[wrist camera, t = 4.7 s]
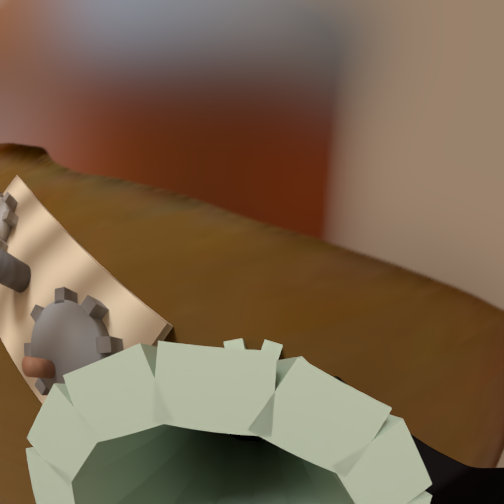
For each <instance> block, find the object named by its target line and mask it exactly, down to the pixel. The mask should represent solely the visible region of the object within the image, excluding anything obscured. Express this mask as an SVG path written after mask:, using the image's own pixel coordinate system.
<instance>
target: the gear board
mask: <svg viewBox="0 0 504 504" xmlns="http://www.w3.org/2000/svg"><path fill="white" fill-rule="evenodd" d="M172 328H173V326H172V325H171V324H170V323H168V322H167V321H166V320H164V319H163V318H162V317H161V316H159V315H158V314H157V313H156V312H154V311H153V310H152V309H151V308H149V307H148V306H147V305H146V304H145V303H143V302H142V301H141V300H140V299H139V298H137V297H136V296H135V295H134V294H133V293H132V292H130V291H129V290H128V289H127V288H126V287H125V286H124V285H122V284H121V283H120V282H119V281H118V280H117V279H116V278H115V277H113V276H112V275H111V274H110V273H109V272H108V271H107V270H106V269H105V268H104V267H103V266H101V265H100V264H99V263H98V262H97V261H96V260H95V259H94V258H93V257H92V256H91V255H90V254H89V253H88V252H87V251H86V250H85V249H84V248H83V247H82V246H81V245H80V244H79V243H78V242H77V241H76V240H75V239H74V238H73V237H72V236H71V235H70V234H69V233H68V232H67V231H66V230H65V229H64V228H63V227H62V226H61V225H60V223H59V222H58V221H57V220H56V219H55V218H54V217H53V216H52V215H51V214H50V212H49V211H48V210H47V209H46V208H45V207H44V206H43V205H42V203H41V202H40V201H39V200H38V199H37V198H36V196H35V195H34V194H33V193H32V192H31V190H30V189H29V188H28V187H27V186H26V184H25V183H24V182H23V181H22V180H21V179H20V178H19V177H18V176H16V177H15V178H14V180H13V181H12V182H11V184H10V185H9V186H8V188H7V189H6V190H5V192H4V193H3V194H2V193H1V192H0V338H1V340H2V342H3V343H4V345H5V347H6V349H7V351H8V352H9V354H10V356H11V358H12V359H13V361H14V363H15V364H16V366H17V368H18V369H19V371H20V372H21V374H22V376H23V377H24V379H25V380H26V382H27V383H28V385H29V386H30V388H31V389H32V390H33V392H34V393H35V395H36V396H37V397H38V399H39V400H40V402H41V403H42V404H43V403H44V401H45V399H46V398H47V396H48V394H49V392H50V390H51V388H52V386H53V384H54V383H59V384H66V383H65V380H64V377H63V375H65V374H67V373H70V372H72V371H75V370H77V369H80V368H82V367H85V366H87V365H90V364H92V363H94V362H97V361H99V360H102V359H104V358H106V357H109V356H111V355H113V354H116V353H118V352H120V351H123V350H125V349H127V348H130V347H132V346H134V345H137V344H139V343H143V344H147V345H152V346H156V347H158V341H163V340H164V339H165V338H166V336H167V335H168V333H169V332H170V331H171V329H172Z"/></svg>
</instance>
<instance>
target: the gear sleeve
mask: <svg viewBox="0 0 504 504" xmlns="http://www.w3.org/2000/svg"><path fill="white" fill-rule="evenodd" d="M224 346H225V348H218V347H207V346H197V345H188V344H180V343H172V342H165V341H158V347H156V346H152V345H147V344H143V343H139V344H137V345H134V346H132V347H130V348H127V349H125V350H123V351H120V352H118V353H116V354H113V355H111V356H109V357H106V358H104V359H102V360H99V361H97V362H94V363H92V364H90V365H87V366H85V367H82V368H80V369H77V370H75V371H72V372H70V373H67V374H65V375H63V377H64V380H65V383H66V384H59V383H54V384H53V386H52V388H51V390H50V392H49V394H48V396H47V398H46V399H45V401H44V403H43V405H42V407H41V409H40V411H39V413H38V415H37V417H36V419H35V422H34V424H33V426H32V428H31V430H30V432H29V434H28V437H27V439H28V440H29V442H30V443H31V444H32V445H33V447H31V448H26V454H27V461H28V467H29V473H30V478H31V483H32V488H33V492H34V496H35V500H36V504H430V502H431V498H432V495H431V494H429V493H428V492H426V491H425V490H426V489H427V488H428V487H429V486H431V485H432V482H431V480H430V477H429V475H428V472H427V470H426V468H425V465H424V463H423V461H422V459H421V456H420V454H419V452H418V450H417V447H416V445H415V443H414V441H413V439H412V437H411V434H410V432H409V430H408V428H407V426H406V424H405V422H404V420H403V419H402V418H399V417H396V416H393V415H390V414H389V413H390V411H391V409H392V408H391V407H389V406H387V405H385V404H383V403H381V402H379V401H377V400H375V399H373V398H371V397H369V396H367V395H366V394H364V393H362V392H360V391H358V390H356V389H354V388H352V387H350V386H348V385H347V384H345V383H343V382H341V381H339V380H337V379H336V378H334V377H332V376H330V375H328V374H327V373H325V372H323V371H321V370H320V369H318V368H316V367H314V366H313V365H311V364H309V363H308V362H307V361H306V360H305V359H304V358H303V357H302V356H300V357H294V358H288V359H282V360H278V359H279V356H280V353H281V350H282V347H283V345H282V344H278V343H275V342H272V341H268V340H264V343H263V346H262V349H261V350H246V347H245V342H244V340H243V338H241V339H236V340H230V341H225V342H224ZM229 434H237V435H250V436H259V437H261V438H263V439H262V440H259V441H245V440H238V439H236V438H234V437H233V436H231V435H229Z"/></svg>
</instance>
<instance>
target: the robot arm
mask: <svg viewBox="0 0 504 504" xmlns="http://www.w3.org/2000/svg"><path fill="white" fill-rule="evenodd" d="M334 378H336V379H337V380H339V381H341V382H343V383H345V382H344V381H343V380H341V379H340V378H339V377H337V376H335V377H334ZM345 384H346V383H345ZM347 385H348V384H347ZM348 386H349V385H348ZM411 437H412V439H413V441H414V443H415V445H416V447H417V450H418V452H419V454H420V456H421V459H422V461H423V463H424V465H425V468H426V470H427V472H428V475H429V477H430V480H431V482H432V485H431V486H429V487H428V488H427V489H426V490H425V491H426V492H428V493H429V494H431V495H432V498H431V502H430V504H504V468H475V467H470V466H467V465H464V464H462V463H460V462H458V461H456V460H454V459H452V458H450V457H448V456H446V455H444V454H442V453H440V452H438V451H436V450H435V449H433V448H431V447H429V446H428V445H426V444H425V443H423V442H422V441H420V440H419V439H417V438H416V437H414V436H413V435H412V434H411Z"/></svg>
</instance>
